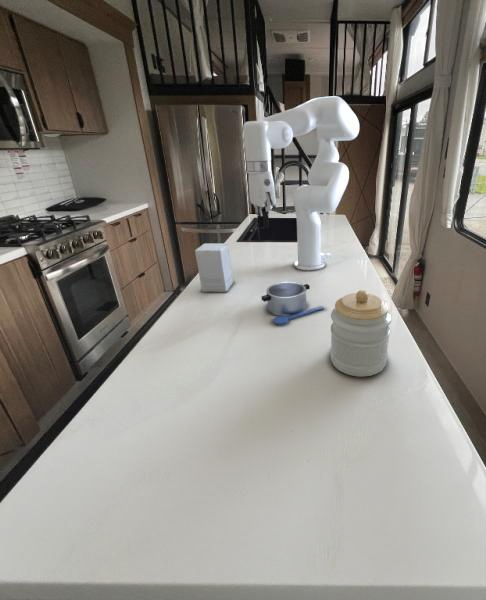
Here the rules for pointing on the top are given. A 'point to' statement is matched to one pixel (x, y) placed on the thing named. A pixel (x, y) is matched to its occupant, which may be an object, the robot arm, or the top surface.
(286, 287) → the pot
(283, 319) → the spoon
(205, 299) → the top surface
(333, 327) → the jar
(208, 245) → the white product box
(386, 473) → the top surface
